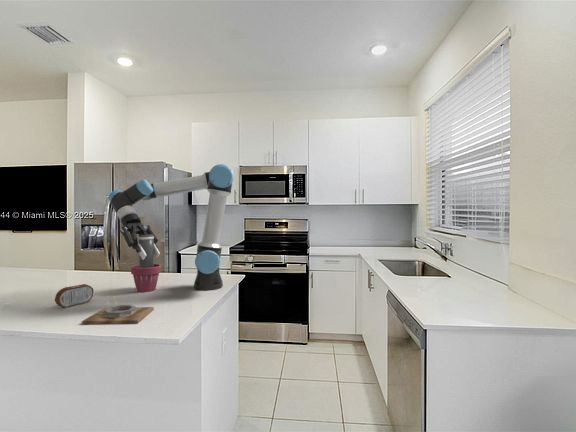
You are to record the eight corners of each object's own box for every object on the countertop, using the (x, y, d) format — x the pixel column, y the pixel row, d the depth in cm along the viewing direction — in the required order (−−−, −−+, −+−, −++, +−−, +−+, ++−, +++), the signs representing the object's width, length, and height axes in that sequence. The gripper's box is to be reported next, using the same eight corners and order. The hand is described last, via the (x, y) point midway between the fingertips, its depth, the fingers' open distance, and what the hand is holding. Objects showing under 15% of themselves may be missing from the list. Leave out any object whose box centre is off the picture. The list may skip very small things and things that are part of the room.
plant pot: (166, 287, 174) (165, 263, 174) (152, 293, 160) (152, 268, 160) (140, 286, 175) (140, 263, 175) (125, 293, 161) (125, 267, 161)
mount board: (153, 309, 134) (153, 302, 134) (137, 323, 118) (137, 314, 118) (104, 310, 133) (104, 302, 133) (81, 324, 117) (81, 315, 117)
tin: (91, 300, 149) (90, 282, 149) (94, 301, 147) (94, 282, 147) (54, 309, 136) (54, 289, 135) (58, 310, 134) (58, 290, 134)
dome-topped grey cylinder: (156, 265, 145) (156, 234, 145) (150, 268, 139) (150, 235, 138) (142, 265, 145) (142, 234, 144) (136, 268, 138) (136, 235, 138)
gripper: (144, 222, 157) (166, 259, 149) (105, 224, 141) (127, 265, 133) (151, 212, 154) (173, 248, 146) (111, 212, 138) (134, 253, 130)
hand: (151, 256), depth 140 cm, fingers closed on dome-topped grey cylinder, 6 cm apart
